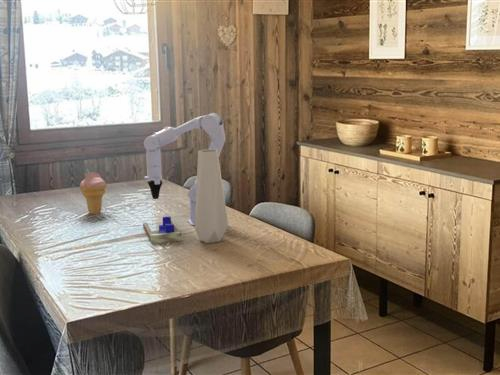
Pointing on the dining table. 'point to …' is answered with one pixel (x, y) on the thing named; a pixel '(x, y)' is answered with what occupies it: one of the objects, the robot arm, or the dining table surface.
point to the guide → (162, 235)
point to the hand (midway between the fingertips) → (155, 198)
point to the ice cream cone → (93, 191)
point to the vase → (210, 198)
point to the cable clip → (166, 226)
